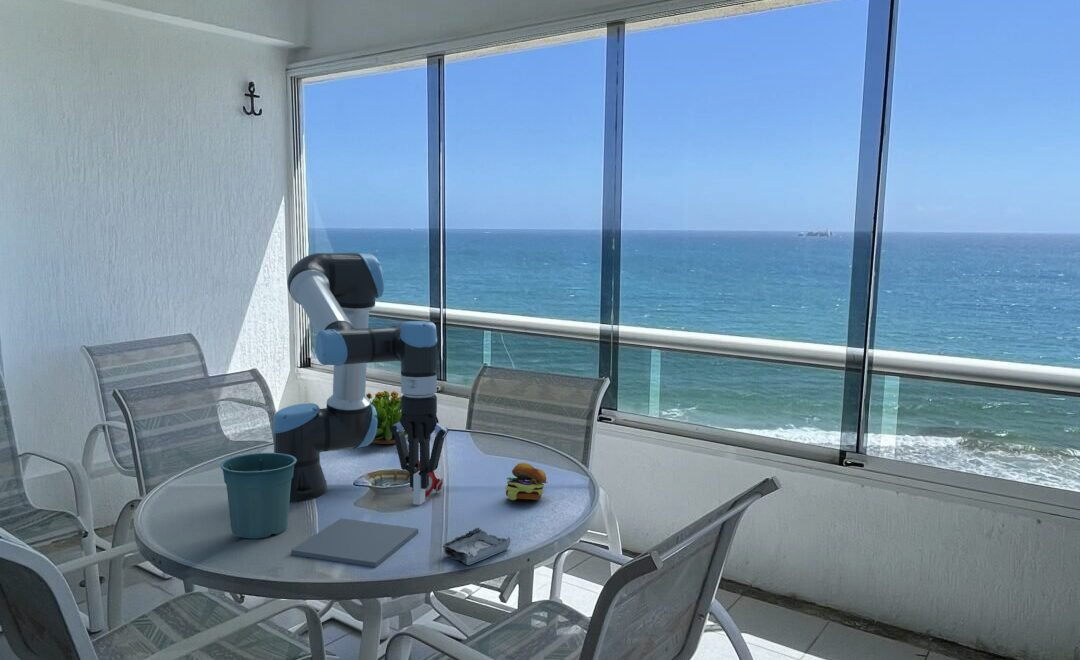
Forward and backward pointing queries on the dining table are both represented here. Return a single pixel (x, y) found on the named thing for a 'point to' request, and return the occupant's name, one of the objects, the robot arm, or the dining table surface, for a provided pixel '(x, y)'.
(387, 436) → the potted flower
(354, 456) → the dining table surface
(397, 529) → the mat
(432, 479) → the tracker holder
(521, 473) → the cheeseburger
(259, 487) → the flower pot
